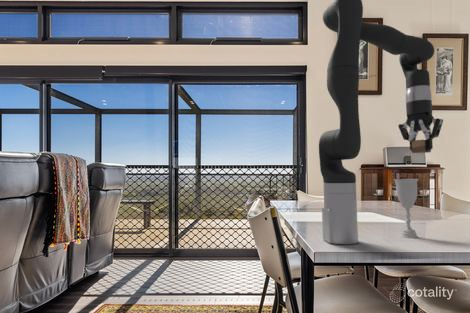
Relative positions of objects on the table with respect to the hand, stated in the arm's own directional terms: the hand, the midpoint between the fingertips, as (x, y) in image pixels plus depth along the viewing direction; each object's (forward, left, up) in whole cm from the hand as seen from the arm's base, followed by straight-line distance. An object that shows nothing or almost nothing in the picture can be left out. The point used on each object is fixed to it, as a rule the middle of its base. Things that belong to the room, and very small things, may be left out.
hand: (421, 151), depth 104 cm
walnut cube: (0, 0, 0) cm, 0 cm away
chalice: (-8, -5, -27) cm, 29 cm away
